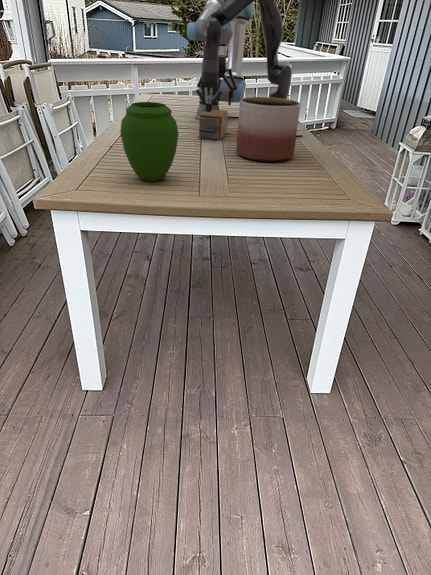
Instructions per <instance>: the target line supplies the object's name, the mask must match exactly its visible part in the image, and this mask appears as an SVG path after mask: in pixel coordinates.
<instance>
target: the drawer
mask: <svg viewBox="0 0 431 575" xmlns="http://www.w3.org/2000/svg"><path fill="white" fill-rule="evenodd" d="M199 122H200V127H198V128H199V129H198V138H199V137H204V138H203V139H205V138H215V139H219V131H220V118H213V117H200V120H199ZM215 139H214V140H215Z"/></svg>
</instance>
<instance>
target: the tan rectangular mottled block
mask: <svg viewBox="0 0 431 575" xmlns="http://www.w3.org/2000/svg"><path fill="white" fill-rule="evenodd" d="M228 116H229V111H228V110H223V109H222V110H221V109H219V110H212V111H211V112H207V111H206V110H205V111H204V112H203V113H201V114H200V117H213V118H220V131H219V139H215V138H204V137H199V136H198V139H205V140H216V141H217V140H219V141H221V140H222V139H223V138H224V137H225V136H226V135H227V133H228V119H229V118H228ZM198 123H199V124H198V126H199V127H200V121H199V122H198ZM199 127H198V128H199Z"/></svg>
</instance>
